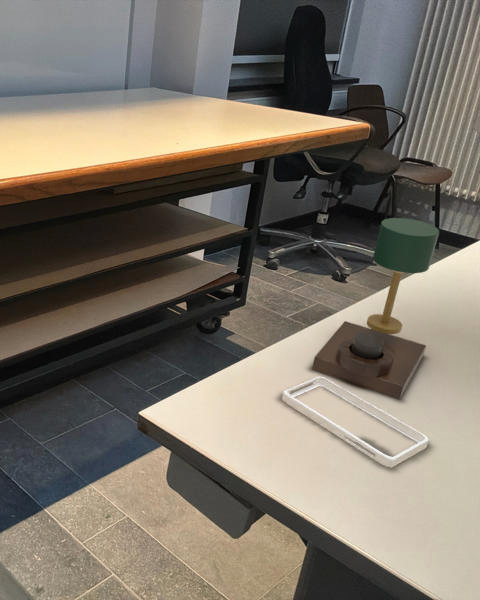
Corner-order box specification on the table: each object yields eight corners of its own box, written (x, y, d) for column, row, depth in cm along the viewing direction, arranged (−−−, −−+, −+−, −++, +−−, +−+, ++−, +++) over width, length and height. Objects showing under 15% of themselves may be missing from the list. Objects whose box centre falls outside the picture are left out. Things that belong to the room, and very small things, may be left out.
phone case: (428, 448, 75) (318, 383, 86) (431, 438, 75) (320, 374, 86) (388, 470, 71) (279, 400, 83) (391, 460, 71) (281, 391, 82)
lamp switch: (383, 352, 87) (387, 338, 86) (376, 364, 84) (380, 349, 83) (355, 343, 89) (358, 330, 88) (347, 354, 86) (350, 340, 85)
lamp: (415, 325, 93) (444, 225, 87) (403, 344, 88) (433, 240, 82) (365, 310, 97) (388, 214, 90) (351, 328, 92) (375, 227, 85)
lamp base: (422, 359, 93) (429, 333, 91) (397, 404, 83) (405, 376, 81) (341, 334, 99) (347, 309, 97) (309, 373, 88) (315, 347, 87)
